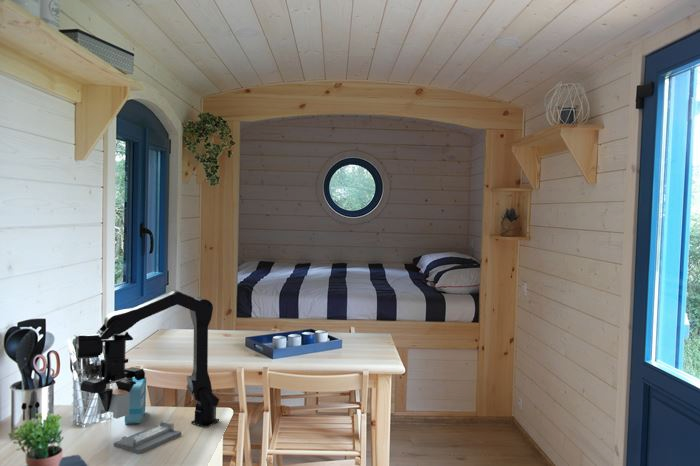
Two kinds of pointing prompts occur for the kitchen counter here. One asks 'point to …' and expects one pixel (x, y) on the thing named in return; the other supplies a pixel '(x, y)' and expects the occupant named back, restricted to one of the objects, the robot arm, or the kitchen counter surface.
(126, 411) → the rail module
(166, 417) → the kitchen counter surface
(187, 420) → the kitchen counter surface
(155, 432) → the rail mount
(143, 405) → the blue block
